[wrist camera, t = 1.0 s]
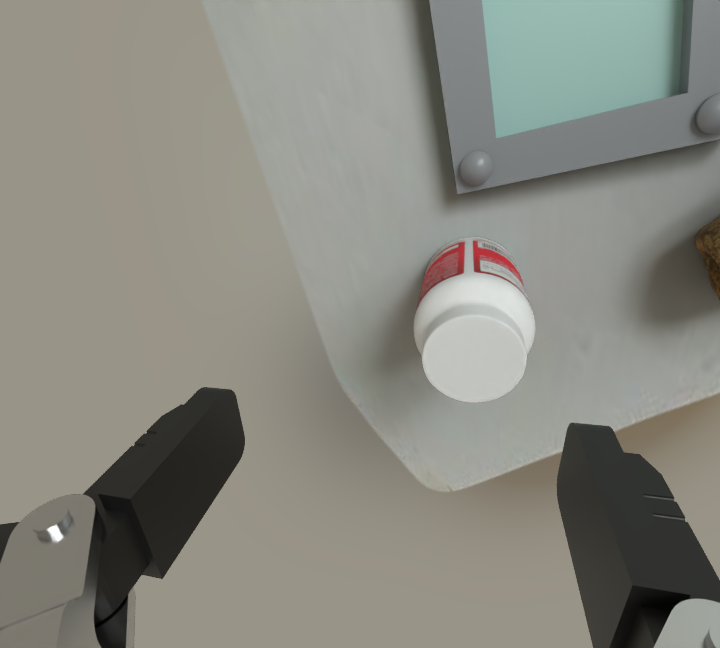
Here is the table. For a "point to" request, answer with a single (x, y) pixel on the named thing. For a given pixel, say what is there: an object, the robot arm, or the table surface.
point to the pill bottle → (473, 321)
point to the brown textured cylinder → (711, 251)
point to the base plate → (573, 83)
